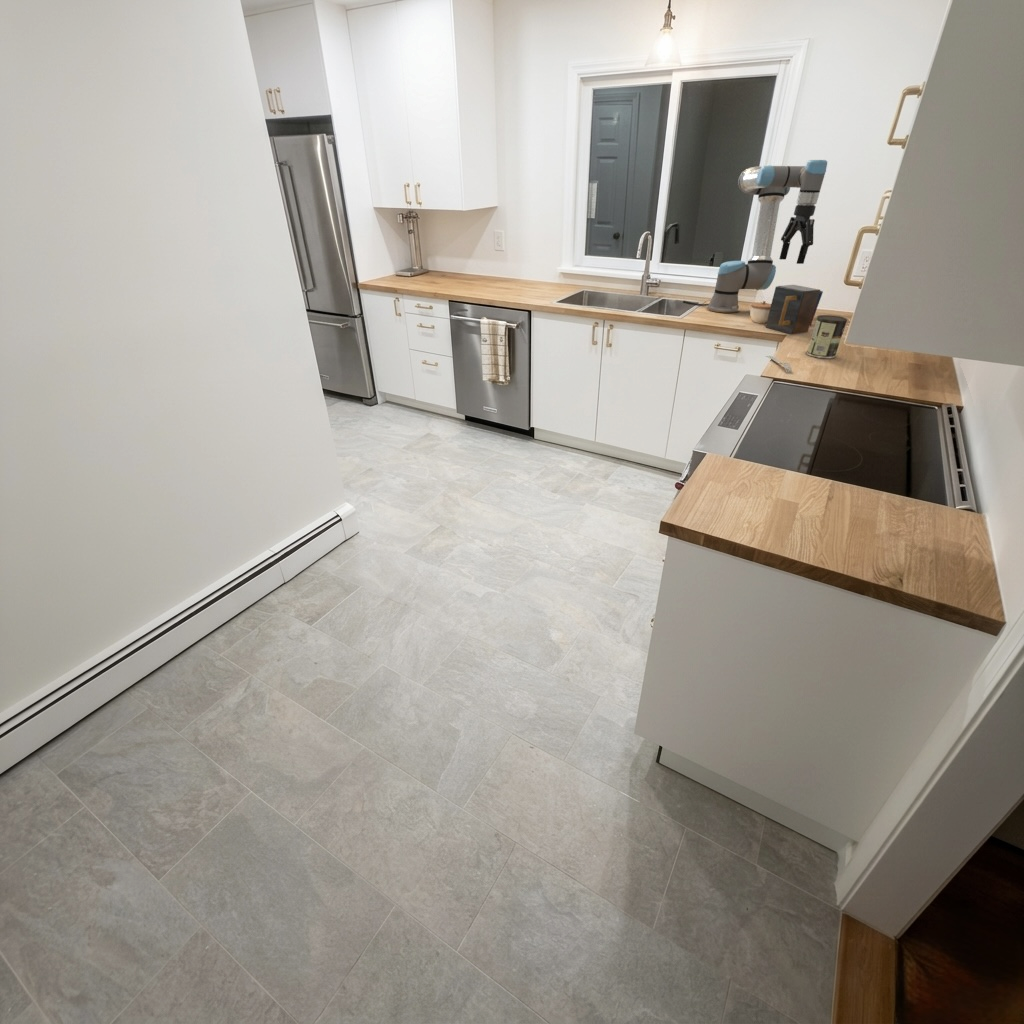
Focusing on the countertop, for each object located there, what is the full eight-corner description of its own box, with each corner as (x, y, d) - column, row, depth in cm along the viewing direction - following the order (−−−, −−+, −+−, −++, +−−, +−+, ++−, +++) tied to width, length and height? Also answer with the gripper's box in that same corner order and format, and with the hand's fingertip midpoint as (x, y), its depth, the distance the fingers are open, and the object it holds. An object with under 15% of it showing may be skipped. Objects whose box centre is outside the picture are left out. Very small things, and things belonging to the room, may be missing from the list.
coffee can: (830, 352, 213) (842, 315, 206) (838, 359, 205) (851, 321, 197) (803, 350, 215) (814, 314, 208) (809, 357, 206) (821, 319, 199)
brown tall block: (808, 326, 251) (818, 292, 243) (794, 324, 255) (804, 290, 247) (815, 324, 254) (825, 291, 246) (801, 322, 259) (811, 289, 251)
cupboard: (792, 334, 238) (804, 291, 228) (767, 327, 249) (777, 285, 239) (807, 332, 242) (820, 289, 232) (782, 325, 252) (793, 284, 243)
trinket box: (773, 324, 253) (778, 303, 248) (749, 323, 255) (754, 302, 250) (768, 319, 262) (774, 299, 257) (745, 318, 264) (750, 298, 259)
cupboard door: (781, 335, 235) (793, 292, 226) (756, 328, 246) (766, 287, 236) (792, 333, 238) (804, 291, 228) (766, 327, 248) (777, 286, 239)
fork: (769, 362, 208) (771, 355, 207) (793, 373, 189) (795, 365, 188) (762, 362, 208) (764, 355, 207) (785, 373, 189) (787, 365, 188)
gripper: (833, 206, 209) (816, 265, 220) (797, 203, 230) (783, 257, 241) (815, 206, 208) (799, 265, 220) (781, 203, 229) (768, 257, 241)
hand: (791, 261), depth 231 cm, fingers open, 13 cm apart
